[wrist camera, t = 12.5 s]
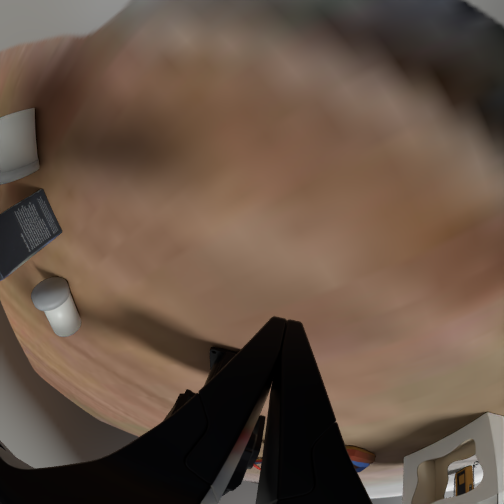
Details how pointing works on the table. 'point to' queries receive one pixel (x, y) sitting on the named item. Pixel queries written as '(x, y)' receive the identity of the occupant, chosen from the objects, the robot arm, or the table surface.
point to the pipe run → (18, 166)
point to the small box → (25, 231)
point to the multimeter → (464, 480)
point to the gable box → (453, 449)
